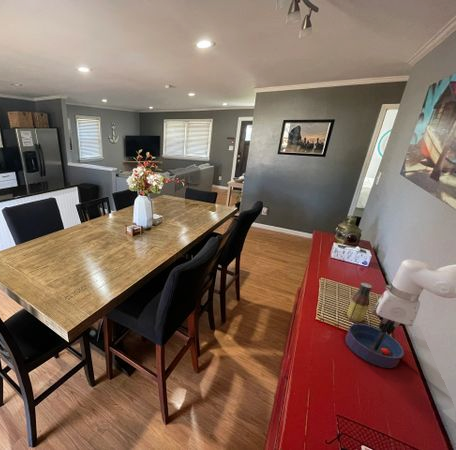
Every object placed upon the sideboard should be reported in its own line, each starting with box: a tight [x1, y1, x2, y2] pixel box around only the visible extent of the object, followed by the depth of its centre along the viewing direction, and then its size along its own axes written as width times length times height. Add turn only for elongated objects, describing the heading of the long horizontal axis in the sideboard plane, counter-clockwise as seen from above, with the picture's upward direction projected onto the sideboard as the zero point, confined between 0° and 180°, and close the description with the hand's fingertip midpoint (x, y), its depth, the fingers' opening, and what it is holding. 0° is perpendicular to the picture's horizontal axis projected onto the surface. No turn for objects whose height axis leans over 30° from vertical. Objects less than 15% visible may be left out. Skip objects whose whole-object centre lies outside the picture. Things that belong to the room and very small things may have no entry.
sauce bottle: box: [346, 282, 373, 323], centre depth 113 cm, size 7×6×20 cm
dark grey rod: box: [367, 319, 392, 355], centre depth 94 cm, size 5×5×17 cm
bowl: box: [344, 323, 405, 369], centre depth 99 cm, size 17×17×6 cm
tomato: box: [381, 348, 390, 356], centre depth 97 cm, size 3×3×3 cm
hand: (384, 331), depth 93 cm, fingers closed on dark grey rod, 1 cm apart
